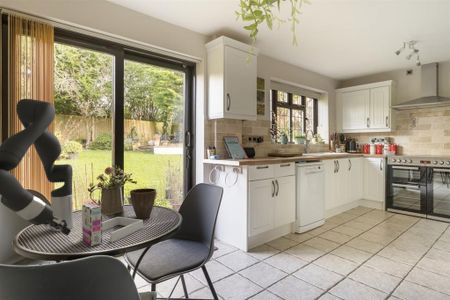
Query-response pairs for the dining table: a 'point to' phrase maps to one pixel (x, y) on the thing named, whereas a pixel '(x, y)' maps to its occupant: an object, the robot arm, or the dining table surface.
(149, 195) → the plant pot
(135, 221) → the grey bracket
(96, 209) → the candy bar box
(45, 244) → the dining table surface
